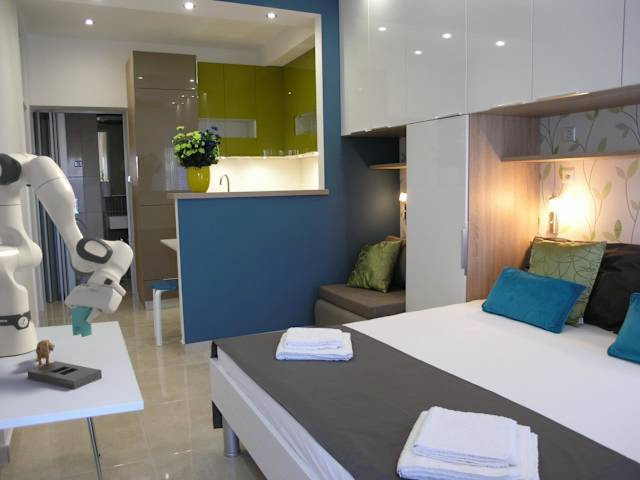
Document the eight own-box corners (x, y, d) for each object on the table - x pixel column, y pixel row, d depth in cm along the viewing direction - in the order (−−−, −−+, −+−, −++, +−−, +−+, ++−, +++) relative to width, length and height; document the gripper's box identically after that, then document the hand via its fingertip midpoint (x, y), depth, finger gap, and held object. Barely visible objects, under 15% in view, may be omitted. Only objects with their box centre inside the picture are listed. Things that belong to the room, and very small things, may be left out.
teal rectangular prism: (73, 335, 179) (70, 309, 178) (80, 332, 182) (78, 306, 181) (84, 336, 177) (82, 310, 176) (91, 334, 180) (89, 308, 179)
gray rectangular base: (28, 378, 174) (27, 370, 174) (56, 368, 183) (55, 361, 183) (74, 389, 165) (73, 381, 165) (101, 377, 174) (101, 370, 173)
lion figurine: (57, 366, 186) (55, 339, 185) (40, 369, 183) (37, 342, 182) (47, 355, 197) (45, 330, 196) (30, 358, 194) (28, 333, 193)
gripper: (74, 277, 188) (50, 312, 181) (118, 281, 179) (96, 319, 171) (85, 288, 193) (63, 322, 185) (130, 292, 183) (108, 329, 176)
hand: (79, 321), depth 178 cm, fingers closed on teal rectangular prism, 5 cm apart
